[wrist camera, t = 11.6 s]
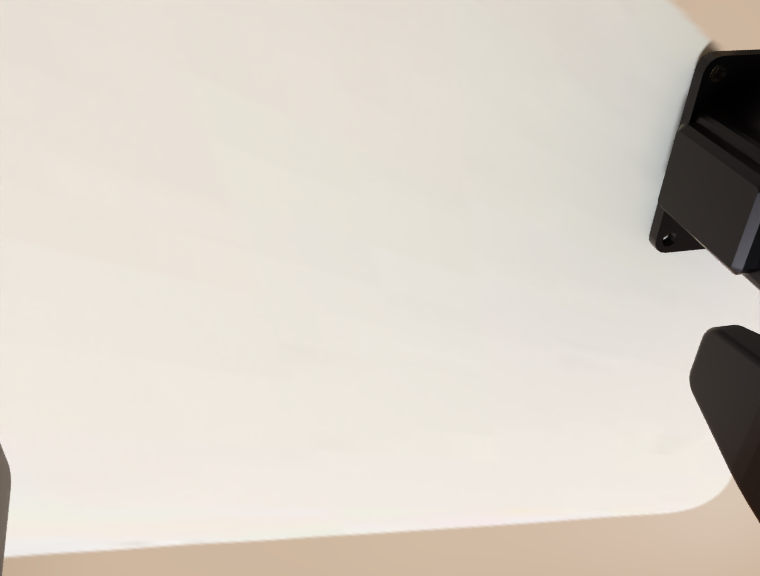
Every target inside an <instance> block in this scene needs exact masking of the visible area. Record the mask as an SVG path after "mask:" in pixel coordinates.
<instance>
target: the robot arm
mask: <svg viewBox="0 0 760 576" xmlns="http://www.w3.org/2000/svg"><path fill="white" fill-rule="evenodd" d="M717 65H719V69H718V71H717V73H716V74H715V75H713V76H712V77H710V74H711V72H712V70H713V69H714V68H715V67H716V66H717ZM667 234H669V236H668V237H667V238H666V239H664V240H663V238H664V237H665V236H666V235H667ZM649 240H650V243H651V244H652V245H653V246H654V247H655V248H656V249H657V250H658V251H660V252H664V253H668V252H678V251H688V250H698V249H707V250H708V251H709V252H710V253H711V254H712V255H713V256H714V257H715V258H717V259H718V260H719V261H720V262H721V263H722V264H723V265H724V266H725V267H726V268H727V269H728V270H730V271H731V272H732V273H733V274H735V275H739V274H742V275H743V276H744V277H746V278H747V279H748V280H749V281H750V282H751V283H752V284H753V285H754V286H755V287H757V288H758V289H759V290H760V50H736V51H715V52H711V53H708V54H707V55H705V56H704V57H703V58H702V59H701V60H700V61H699V62H698V64H697V66H696V69H695V72H694V75H693V79H692V83H691V86H690V90H689V93H688V97H687V101H686V104H685V108H684V112H683V115H682V119H681V122H680V126H679V129H678V131H677V133H676V137H675V140H674V144H673V147H672V151H671V155H670V158H669V162H668V166H667V169H666V173H665V177H664V180H663V184H662V187H661V191H660V195H659V198H658V206H657V209H656V213H655V217H654V220H653V224H652V227H651V231H650V235H649ZM689 380H690V387H691V390H692V393H693V395H694V397H695V399H696V401H697V403H698V405H699V407H700V410H701V412H702V414H703V416H704V418H705V420H706V422H707V424H708V426H709V428H710V430H711V432H712V435H713V437H714V439H715V441H716V443H717V445H718V447H719V449H720V451H721V453H722V455H723V457H724V460H725V462H726V464H727V466H728V468H729V470H730V472H731V474H732V476H733V478H734V480H735V482H736V484H737V485H738V487H739V489H740V491H741V492H742V494H743V496H744V498H745V500H746V501H747V503H748V505H749V506H750V508H751V509H752V511H753V513H754V514H755V516H756V518H757V519H758V521H759V523H760V334H758V333H756V332H753V331H751V330H749V329H747V328H745V327H742V326H739V325H729V326H721V327H713V328H711V329H708V330H707V332H706V333H705V334H704V335H703V337H702V340H701V343H700V346H699V349H698V351H697V354H696V357H695V360H694V363H693V365H692V368H691V371H690V378H689ZM10 490H11V474H10V468H9V465H8V462H7V459H6V457H5V454H4V452H3V449H2V446H1V444H0V576H2V570H3V560H4V550H5V540H6V530H7V520H8V510H9V500H10Z"/></svg>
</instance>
